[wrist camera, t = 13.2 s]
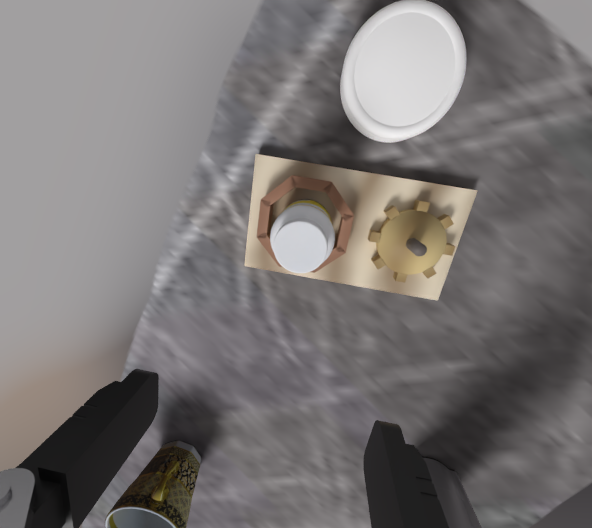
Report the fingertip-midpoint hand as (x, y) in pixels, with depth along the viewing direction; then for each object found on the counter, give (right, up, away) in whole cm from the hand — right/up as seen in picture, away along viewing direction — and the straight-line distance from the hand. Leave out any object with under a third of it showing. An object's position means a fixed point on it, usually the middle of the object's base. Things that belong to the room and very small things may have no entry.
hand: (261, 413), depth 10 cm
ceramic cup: (-16, -24, +33) cm, 44 cm away
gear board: (+7, +9, +20) cm, 23 cm away
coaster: (+10, +22, +16) cm, 29 cm away
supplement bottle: (+2, +10, +19) cm, 22 cm away
